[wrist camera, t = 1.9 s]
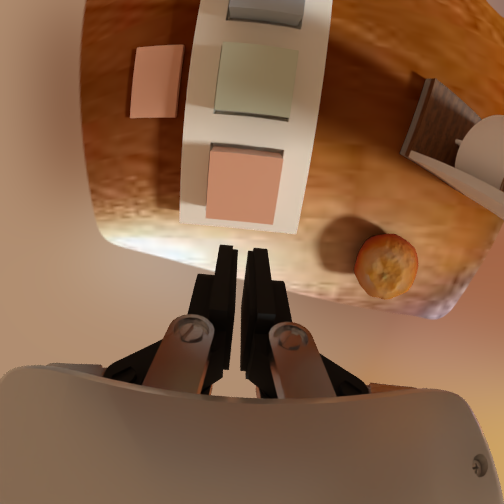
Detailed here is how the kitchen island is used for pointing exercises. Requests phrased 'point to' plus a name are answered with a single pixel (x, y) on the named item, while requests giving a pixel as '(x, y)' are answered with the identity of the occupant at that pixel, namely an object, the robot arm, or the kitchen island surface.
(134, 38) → the kitchen island surface
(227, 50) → the key sage
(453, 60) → the kitchen island surface
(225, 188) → the key terracotta
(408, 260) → the fruit
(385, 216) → the kitchen island surface
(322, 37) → the keypad board
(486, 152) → the tiered shelf stand
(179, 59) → the tile
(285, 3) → the key slate blue
